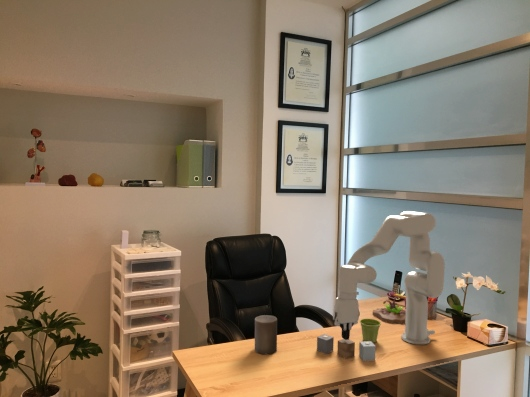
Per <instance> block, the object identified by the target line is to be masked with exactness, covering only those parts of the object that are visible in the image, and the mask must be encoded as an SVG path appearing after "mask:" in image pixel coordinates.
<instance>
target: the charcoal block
mask: <svg viewBox="0 0 530 397" xmlns="http://www.w3.org/2000/svg"><path fill="white" fill-rule="evenodd" d="M316 351H317V352H320V353H322V354H325V355H328V354H329V353H332V352H334V336H332V335H328V334H325V333H323V334H321V335H319V336H317V338H316Z"/></svg>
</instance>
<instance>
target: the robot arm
mask: <svg viewBox="0 0 530 397" xmlns="http://www.w3.org/2000/svg"><path fill="white" fill-rule="evenodd" d="M436 224H437V223H436V218H435V216H434V215H433V214H431V213H429V212H423V211H421V212H420V211H413V210H406V211H405V210H404V211H403V212H400V214H399V215H396V214H395V215H393V214H392V215H389V216H387V217H386V218H385V219H384V221H383V222H382V224H381V225H380V227H379V229H378V230H377V232H376V233H375V234H374V236H373V238H372V239H371V241H368V242H367V243H365V244H364V245H362V246H361V247H359V248H358V249H357V250H356V251H355V252H354V253H353V254H352V256H351V257H350V259H349V260H348V262H347V264H343V265H340V266H339V271H338V272H339V274H338V290H337V297H336V298H335V301H334V305H333V314H332V320H333V321H334V326H335V327H339V328H340V329H341V338H342V339H345V340H350V335H351V330H352V327H353V326H355V325H357V324H358V323H359V320H360V318H359V317H360V308H359V306H360V305H359V298H358V297H357V296H358V295H359V291H357V290H358V284H371V283H373V282H375V281H376V279H377V274H378V273H377V271H376V269H375V268H374V267H373V266H371V265H368V264H365V263H366V262H367V261H368V260H370V259H372V258H373V257H376V256H380V255H384V254H387V253H389V252H390V250H391V249H392V248H393V245H394V244H395V243H396V241H397V239H398V238H399V236H400V237H406V238H409V254H408V257H409V258H408V262H409V265H410V267H412V268H413V269H416V270H415V271H409V272H408V273H407V274H406V275H405V277H404V281H403V283H404V289H405V311H406V316H405V323H404V324H405V325H404V327H405V328H404V332H403V333H401V336H400V338H401V339H402V340H403V341H404V342H406V343H409V344H413V345H419V346H420V345H428V344H430V343H431V338H430V335H435V334H436V332H435V330H434V329H431V330H429V329H428V313H429V312H428V309H429V301H428V298H432V299H436V298H439V297H440V296H441V294H442V292H443V290H444V282H445V268H446V266H445V265H446V264H445V259H444V257H443V255H442V254H441V253H439V252H437V251H433V250H431V249H430V247H431V246H430V244H431V243H430V239H431V238H430V234H429V233H430V232H432V231H433V230H434V229H435V227H436ZM417 270H418V271H417ZM420 271H423V272H420ZM425 272H426V273H425Z"/></svg>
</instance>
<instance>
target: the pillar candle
mask: <svg viewBox="0 0 530 397" xmlns="http://www.w3.org/2000/svg"><path fill="white" fill-rule="evenodd" d="M277 350H278V318H277V317H276V316H274V315H267V314H266V315H265V314H264V315H259V316H256V317H255V318H254V352H256V353H257V354H261V355H273V354H275V353H276V352H277Z"/></svg>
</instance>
